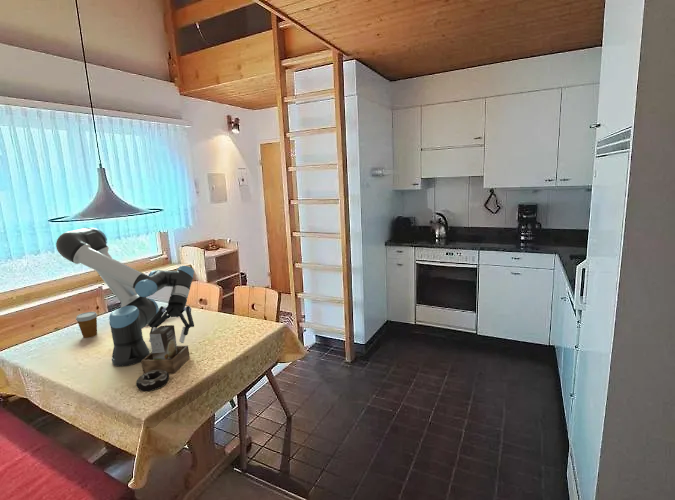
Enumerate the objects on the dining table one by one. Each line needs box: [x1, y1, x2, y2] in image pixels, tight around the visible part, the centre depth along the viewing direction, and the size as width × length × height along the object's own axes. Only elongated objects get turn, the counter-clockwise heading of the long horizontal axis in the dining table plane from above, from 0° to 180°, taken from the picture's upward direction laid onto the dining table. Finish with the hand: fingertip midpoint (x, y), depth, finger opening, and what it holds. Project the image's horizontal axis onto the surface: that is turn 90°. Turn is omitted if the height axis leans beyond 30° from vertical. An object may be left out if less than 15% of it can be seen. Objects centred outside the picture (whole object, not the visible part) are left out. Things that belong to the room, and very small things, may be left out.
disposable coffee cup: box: [75, 311, 98, 339], centre depth 195 cm, size 10×10×12 cm
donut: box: [135, 370, 170, 392], centre depth 144 cm, size 12×12×4 cm
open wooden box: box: [141, 345, 191, 375], centre depth 159 cm, size 14×14×6 cm
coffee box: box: [149, 324, 178, 360], centre depth 158 cm, size 9×6×16 cm
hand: (166, 342), depth 157 cm, fingers open, 13 cm apart
